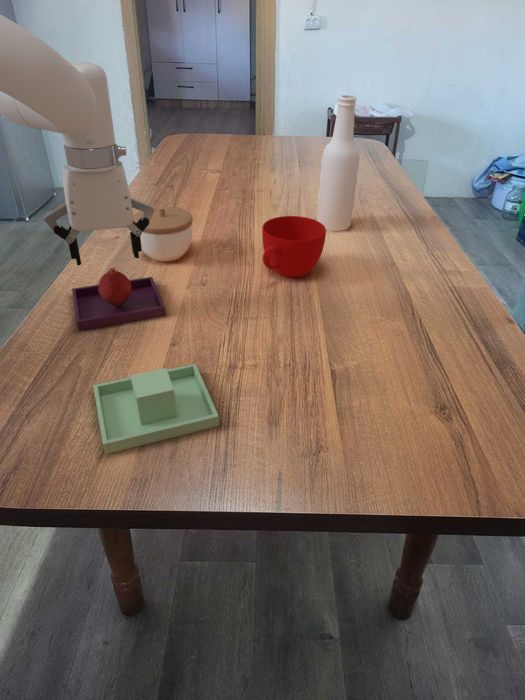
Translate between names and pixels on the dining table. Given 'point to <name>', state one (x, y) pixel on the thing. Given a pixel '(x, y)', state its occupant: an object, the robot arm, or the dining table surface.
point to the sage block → (154, 396)
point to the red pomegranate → (114, 288)
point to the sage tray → (127, 431)
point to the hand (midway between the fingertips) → (107, 258)
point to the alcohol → (339, 170)
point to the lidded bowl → (166, 233)
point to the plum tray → (101, 313)
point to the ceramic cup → (292, 245)
